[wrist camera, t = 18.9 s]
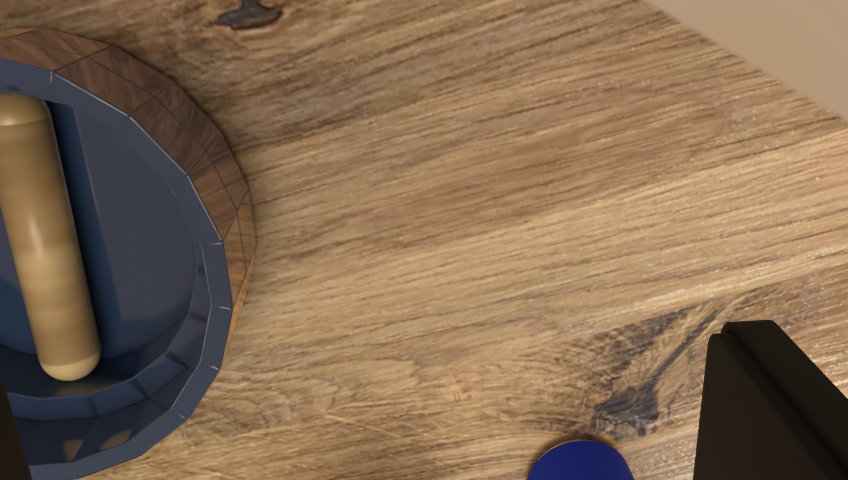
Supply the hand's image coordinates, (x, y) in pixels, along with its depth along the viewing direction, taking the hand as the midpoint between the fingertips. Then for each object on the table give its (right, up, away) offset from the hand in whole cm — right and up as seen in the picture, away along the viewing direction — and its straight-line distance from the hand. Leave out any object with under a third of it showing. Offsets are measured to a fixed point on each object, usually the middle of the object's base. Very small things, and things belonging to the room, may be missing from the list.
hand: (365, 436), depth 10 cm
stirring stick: (-14, +3, +21) cm, 26 cm away
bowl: (-14, +3, +22) cm, 26 cm away
